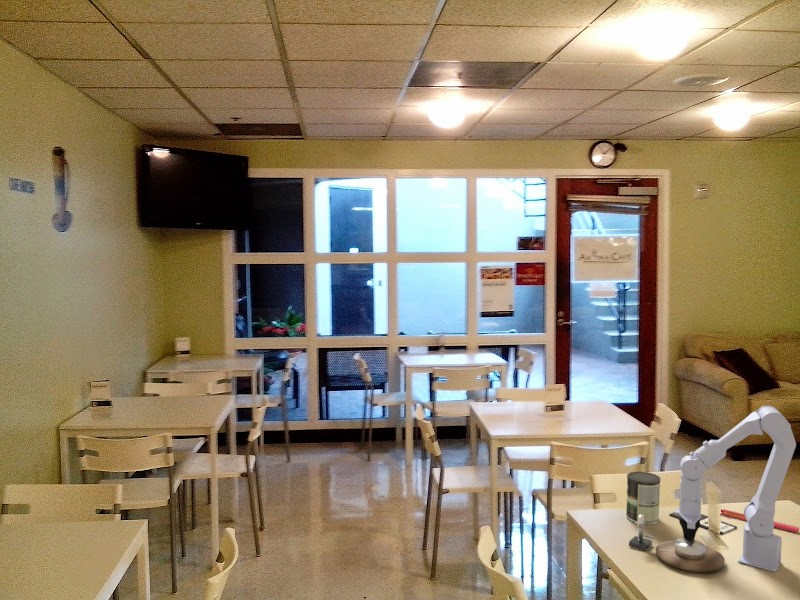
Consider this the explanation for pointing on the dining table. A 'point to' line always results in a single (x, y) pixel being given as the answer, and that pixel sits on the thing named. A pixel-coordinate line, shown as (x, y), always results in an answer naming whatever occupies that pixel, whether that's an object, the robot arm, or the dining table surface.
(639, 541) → the trophy
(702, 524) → the chocolate bar
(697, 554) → the cover
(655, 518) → the coffee can
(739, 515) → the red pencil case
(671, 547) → the turntable
